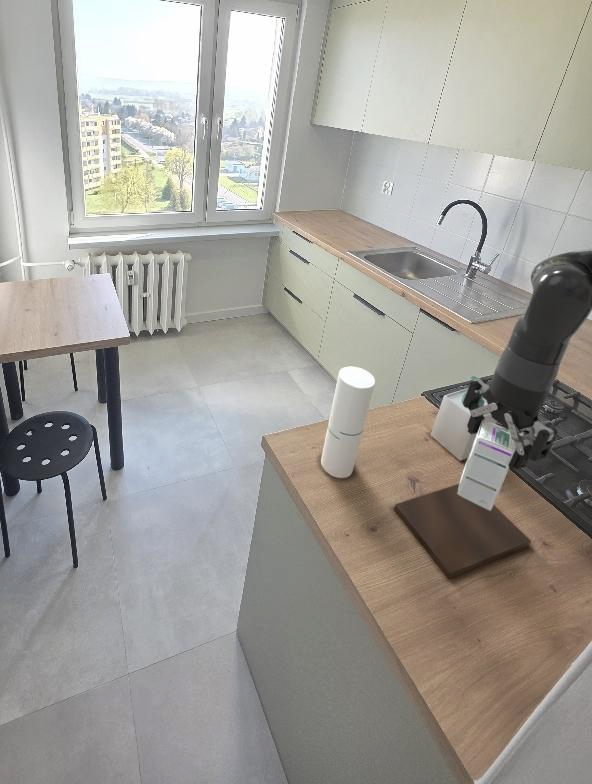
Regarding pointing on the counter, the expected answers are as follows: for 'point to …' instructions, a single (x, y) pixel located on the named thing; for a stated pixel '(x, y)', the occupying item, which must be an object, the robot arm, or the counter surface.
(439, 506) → the board
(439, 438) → the soap bottle
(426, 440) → the counter surface
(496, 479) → the syrup box
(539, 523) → the counter surface
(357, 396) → the cylindrical container
